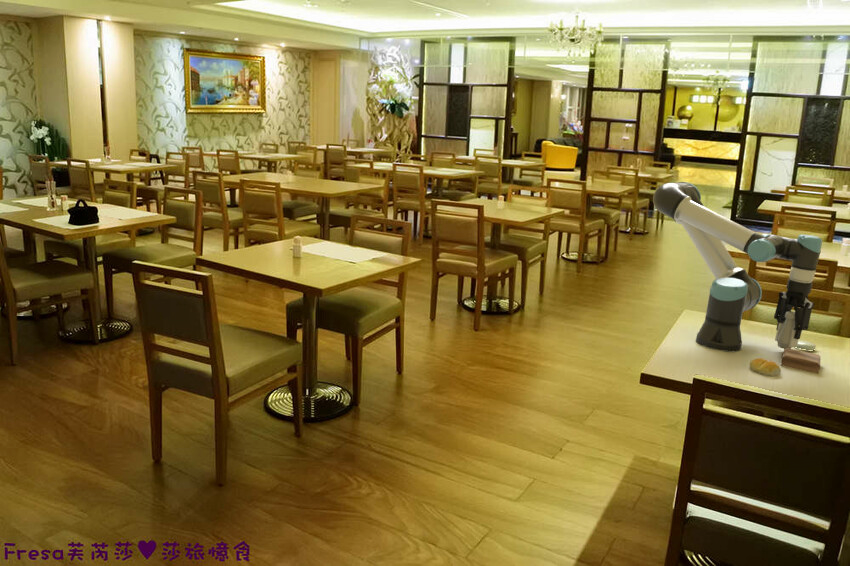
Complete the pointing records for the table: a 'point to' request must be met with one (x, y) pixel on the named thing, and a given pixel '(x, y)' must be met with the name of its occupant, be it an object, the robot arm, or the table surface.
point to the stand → (801, 360)
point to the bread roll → (765, 367)
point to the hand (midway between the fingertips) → (785, 343)
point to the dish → (805, 345)
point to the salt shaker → (786, 330)
